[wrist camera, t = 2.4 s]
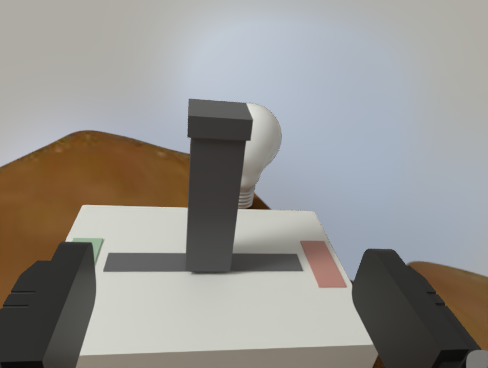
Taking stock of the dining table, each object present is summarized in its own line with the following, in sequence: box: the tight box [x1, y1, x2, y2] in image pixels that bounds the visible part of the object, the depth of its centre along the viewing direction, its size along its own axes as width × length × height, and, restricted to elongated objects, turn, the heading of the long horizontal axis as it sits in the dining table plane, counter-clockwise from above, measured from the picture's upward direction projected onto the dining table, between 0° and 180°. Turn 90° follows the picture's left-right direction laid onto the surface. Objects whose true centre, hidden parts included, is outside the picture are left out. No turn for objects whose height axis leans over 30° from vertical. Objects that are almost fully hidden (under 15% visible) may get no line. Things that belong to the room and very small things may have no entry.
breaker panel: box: [65, 205, 378, 368], centre depth 26 cm, size 20×14×3 cm
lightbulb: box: [238, 103, 282, 209], centre depth 36 cm, size 6×6×11 cm
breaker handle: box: [185, 99, 253, 271], centre depth 23 cm, size 3×3×11 cm
